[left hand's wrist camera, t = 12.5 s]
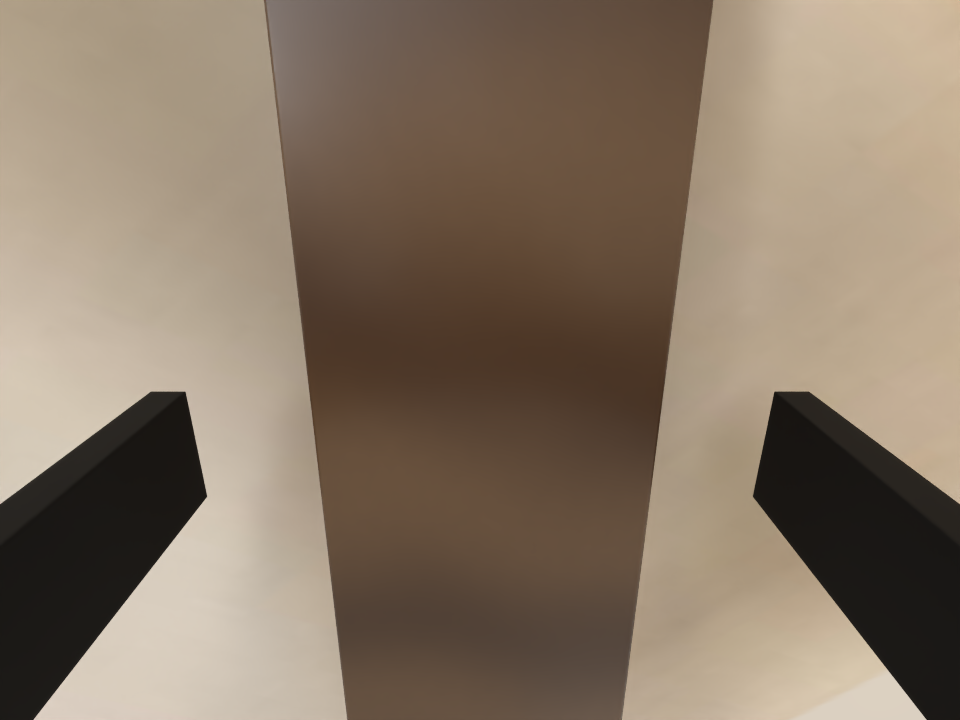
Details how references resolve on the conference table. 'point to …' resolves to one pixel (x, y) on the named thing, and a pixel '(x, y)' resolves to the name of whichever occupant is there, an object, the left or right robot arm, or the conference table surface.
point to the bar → (486, 330)
